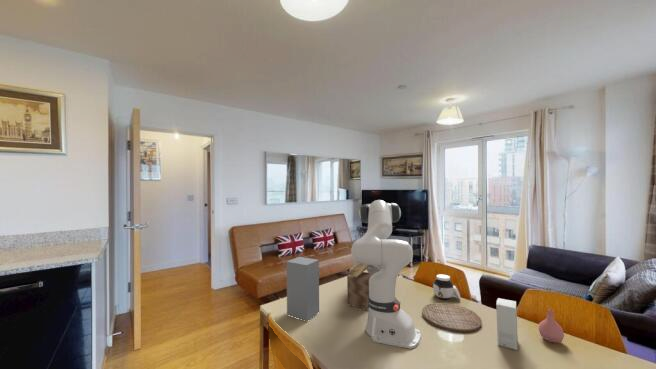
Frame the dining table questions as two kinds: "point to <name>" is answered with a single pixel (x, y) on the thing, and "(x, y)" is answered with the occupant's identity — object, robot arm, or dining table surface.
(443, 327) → the trivet
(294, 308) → the tall stand
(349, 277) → the walnut block
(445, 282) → the spread jar
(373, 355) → the dining table surface
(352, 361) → the dining table surface
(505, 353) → the dining table surface
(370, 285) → the robot arm
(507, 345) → the skincare box
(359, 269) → the oak bar
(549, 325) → the pink teardrop-shaped piece
